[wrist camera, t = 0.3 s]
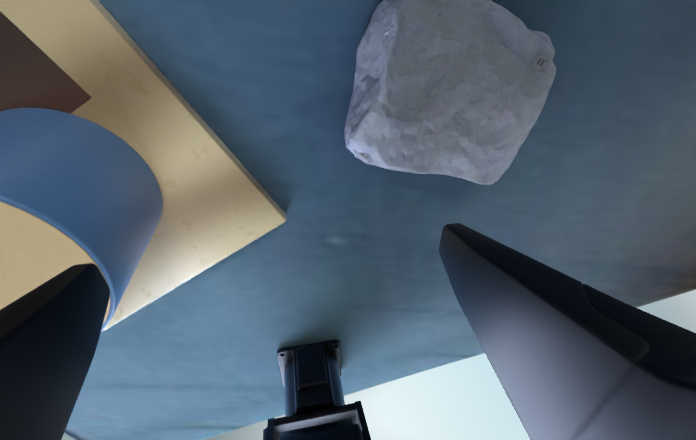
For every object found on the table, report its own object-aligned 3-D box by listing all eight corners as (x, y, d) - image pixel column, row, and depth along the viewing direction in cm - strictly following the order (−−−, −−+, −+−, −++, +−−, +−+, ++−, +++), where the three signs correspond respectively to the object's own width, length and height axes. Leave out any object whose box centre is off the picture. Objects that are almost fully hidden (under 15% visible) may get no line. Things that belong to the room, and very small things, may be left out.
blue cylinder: (181, 246, 23) (147, 344, 17) (22, 263, 22) (-84, 377, 15) (129, 102, 18) (47, 166, 11) (-91, 111, 16) (-335, 191, 10)
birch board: (286, 213, 25) (286, 221, 24) (107, 322, 27) (102, 332, 27) (-276, -427, 9) (-329, -468, 9) (-558, -38, 12) (-620, -41, 11)
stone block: (364, -20, 19) (333, 152, 22) (397, -48, 15) (352, 170, 18) (524, 34, 23) (476, 174, 26) (587, 24, 18) (520, 193, 22)
